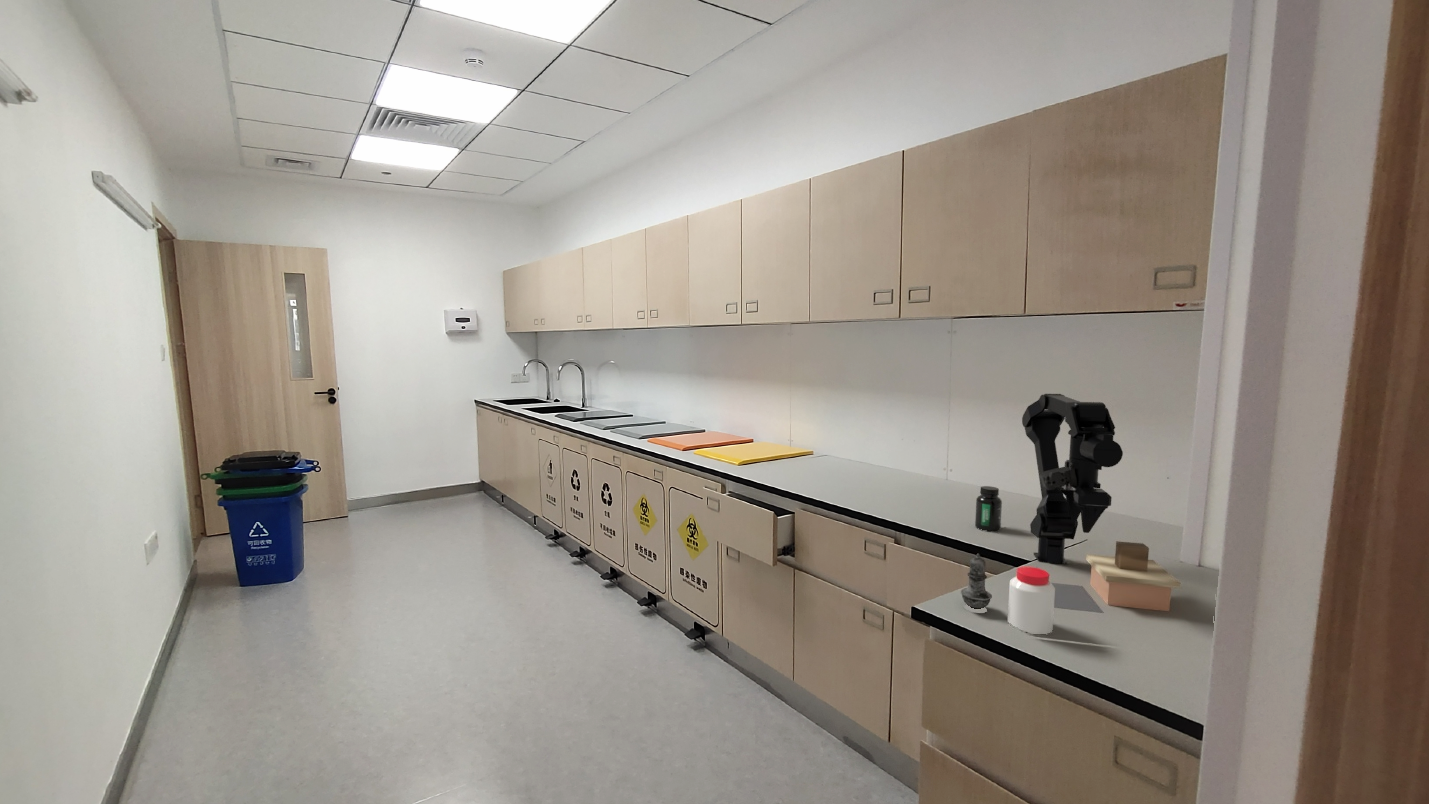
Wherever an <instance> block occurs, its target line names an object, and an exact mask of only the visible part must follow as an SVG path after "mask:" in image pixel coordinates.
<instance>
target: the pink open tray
mask: <svg viewBox="0 0 1429 804" xmlns="http://www.w3.org/2000/svg"><path fill="white" fill-rule="evenodd" d="M1090 571H1091V572H1090V586H1091V587H1092V589H1094V591H1095V592H1096V593H1097V595H1098V596H1099V597H1100V598H1101V599H1102V600H1103V601H1104V602H1105V604H1106V605H1107V606H1115V607H1122V608H1123V607H1125V608H1133V609H1134V608H1135V609H1145V610H1154V611H1163V612H1165V611H1166V612H1170V606H1171V597H1172V596H1171V594H1172V588H1170V587H1160V586H1149V585H1139V584H1128V583H1118V582H1107V581H1105V580H1104V579H1103V578H1102V576H1101V575H1100V574H1099V573H1098V572H1097V571H1096V570H1095V569H1094V568H1093V567H1092V566H1091V569H1090Z"/></svg>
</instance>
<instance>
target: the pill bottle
mask: <svg viewBox="0 0 1429 804" xmlns="http://www.w3.org/2000/svg"><path fill="white" fill-rule="evenodd" d="M1049 580H1050V573H1049V572H1048V571H1046V570H1044V569H1041V568H1038V567H1034V566H1033V567H1032V566H1020V567H1017V568H1016V575H1015V576H1013V577H1012V578H1011V579H1010V580H1009V584H1008V585H1009V587H1008V588H1009V589H1008V602H1007V603H1008V605H1007V607H1008V608H1007V623H1008V622H1009V623H1011V624H1012V625H1013V626H1015V627H1018V628H1019V629H1021V630H1024V631H1027V632H1032V633H1038V634H1046V633H1050V632H1051V633H1053V631H1052V630H1054V619H1055V618H1054V617H1055V613H1054V612H1055V608H1054V602H1055V587H1054V586H1053V585H1052V584H1051V583H1052V582H1050V581H1049ZM1051 633H1050V634H1051ZM1046 635H1047V634H1046Z"/></svg>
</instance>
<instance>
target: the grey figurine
mask: <svg viewBox="0 0 1429 804" xmlns="http://www.w3.org/2000/svg"><path fill="white" fill-rule="evenodd" d="M980 556H981V554H980V553H977V554H976V556H973V557H972V558H970V561H969V572H967V576H968V585H967V587H965V588H962V589H961V590H960V594H961V596H962V600H963V602H964V603H965V605H966V604H967V605H968V606H970V607H971V608H974V609H981V608H984V607H985V608H987V606H989V604H990V602H991V599H992V598H993V595H992V594H991V592H989V591H987V590H986V579H987V578H988V576H987V575H986V561H985V559H983V558H982V557H980Z"/></svg>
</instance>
